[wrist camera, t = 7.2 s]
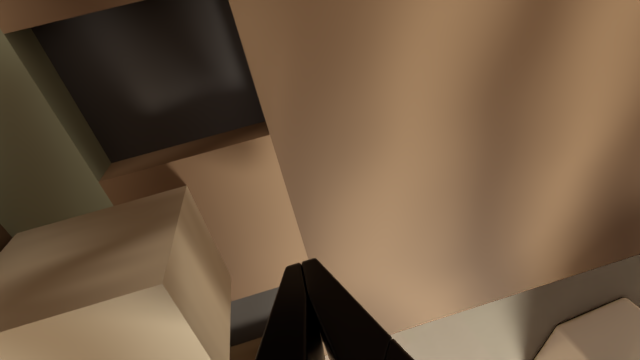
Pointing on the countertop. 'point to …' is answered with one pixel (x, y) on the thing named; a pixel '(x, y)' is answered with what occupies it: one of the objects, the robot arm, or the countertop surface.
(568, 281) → the countertop surface
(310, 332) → the robot arm
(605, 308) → the jar
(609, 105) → the board
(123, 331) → the block
